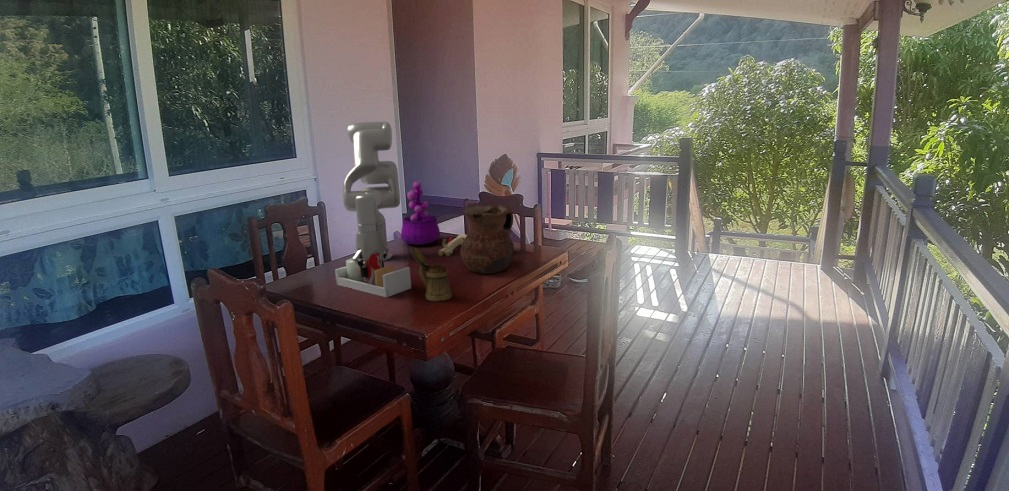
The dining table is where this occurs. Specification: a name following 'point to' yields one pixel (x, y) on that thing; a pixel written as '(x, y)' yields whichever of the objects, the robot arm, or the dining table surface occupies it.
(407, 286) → the pusher lane
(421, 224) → the decorative plant
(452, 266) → the dining table surface
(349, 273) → the sage jar
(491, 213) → the jug
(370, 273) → the soda can
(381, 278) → the plate
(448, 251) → the cream bone
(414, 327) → the dining table surface
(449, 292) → the wooden mug
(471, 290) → the dining table surface
